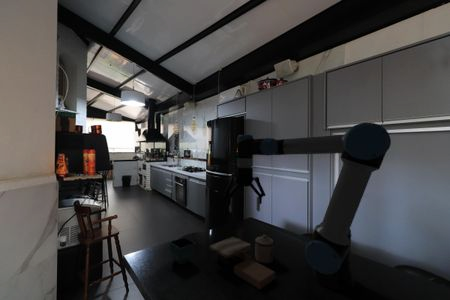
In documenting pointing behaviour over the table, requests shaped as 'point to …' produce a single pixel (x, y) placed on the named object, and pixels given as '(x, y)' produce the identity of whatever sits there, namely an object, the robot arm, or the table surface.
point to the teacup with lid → (264, 249)
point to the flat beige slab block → (231, 249)
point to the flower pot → (182, 250)
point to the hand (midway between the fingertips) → (244, 211)
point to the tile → (254, 273)
